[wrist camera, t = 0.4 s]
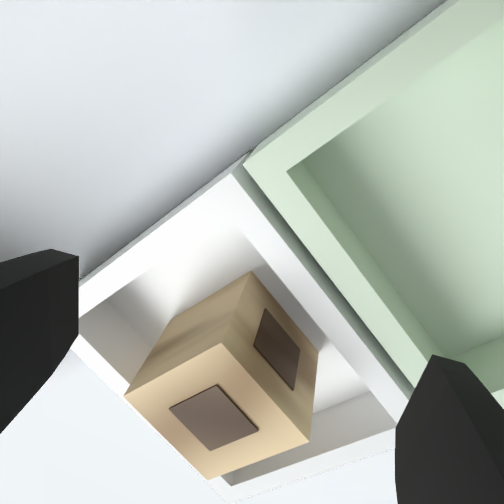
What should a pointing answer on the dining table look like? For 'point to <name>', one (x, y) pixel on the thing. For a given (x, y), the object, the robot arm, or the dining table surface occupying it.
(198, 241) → the white tray
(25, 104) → the dining table surface
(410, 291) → the sage tray
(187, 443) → the letter cube
